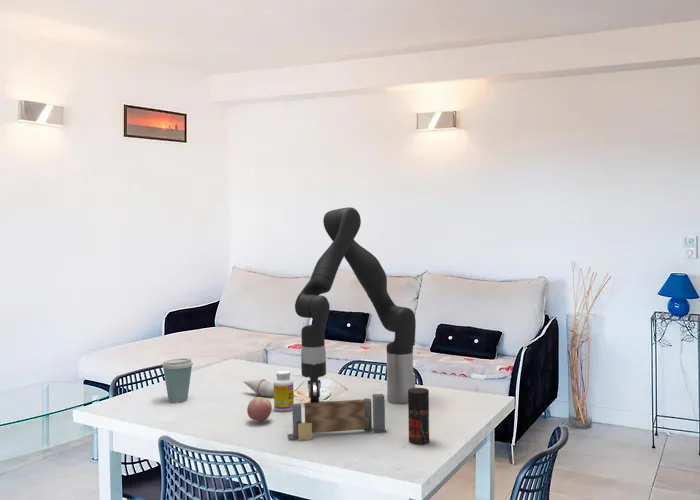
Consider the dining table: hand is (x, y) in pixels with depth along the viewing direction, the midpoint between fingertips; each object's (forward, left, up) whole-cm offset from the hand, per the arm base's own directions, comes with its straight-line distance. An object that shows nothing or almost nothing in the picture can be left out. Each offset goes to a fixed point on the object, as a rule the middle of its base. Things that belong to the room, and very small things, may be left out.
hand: (314, 415), depth 209 cm
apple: (+16, -13, -5) cm, 21 cm away
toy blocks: (+6, +5, -5) cm, 9 cm away
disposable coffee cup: (+43, -46, -5) cm, 63 cm away
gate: (-6, +5, -4) cm, 9 cm away
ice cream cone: (+14, -45, -5) cm, 47 cm away
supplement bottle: (+7, -25, -5) cm, 26 cm away
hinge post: (-19, +5, -5) cm, 20 cm away
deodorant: (-28, +17, -5) cm, 33 cm away
